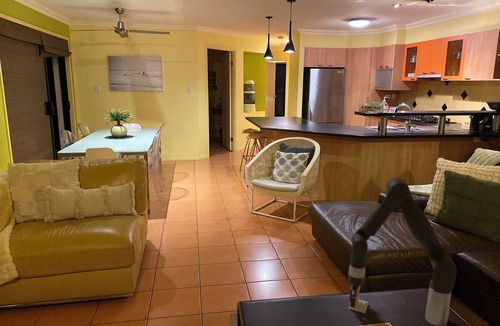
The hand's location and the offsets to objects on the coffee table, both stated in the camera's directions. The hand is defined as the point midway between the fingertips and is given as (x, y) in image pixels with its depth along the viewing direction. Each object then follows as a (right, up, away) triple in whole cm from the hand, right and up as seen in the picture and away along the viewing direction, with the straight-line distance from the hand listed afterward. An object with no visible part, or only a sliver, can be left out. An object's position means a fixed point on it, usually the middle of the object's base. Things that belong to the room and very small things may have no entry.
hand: (354, 302), depth 180 cm
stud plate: (+3, -3, +2) cm, 4 cm away
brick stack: (0, -1, 0) cm, 1 cm away
